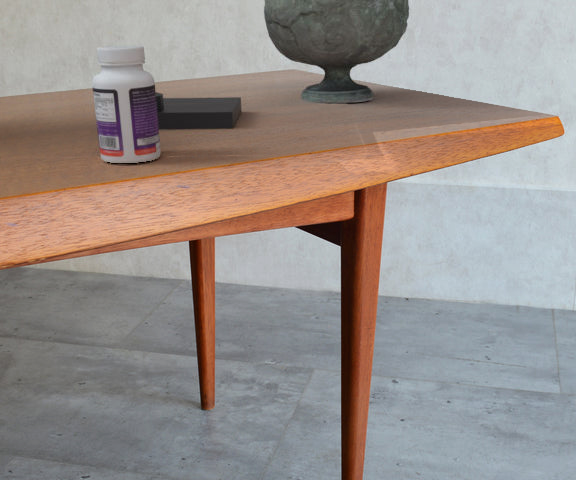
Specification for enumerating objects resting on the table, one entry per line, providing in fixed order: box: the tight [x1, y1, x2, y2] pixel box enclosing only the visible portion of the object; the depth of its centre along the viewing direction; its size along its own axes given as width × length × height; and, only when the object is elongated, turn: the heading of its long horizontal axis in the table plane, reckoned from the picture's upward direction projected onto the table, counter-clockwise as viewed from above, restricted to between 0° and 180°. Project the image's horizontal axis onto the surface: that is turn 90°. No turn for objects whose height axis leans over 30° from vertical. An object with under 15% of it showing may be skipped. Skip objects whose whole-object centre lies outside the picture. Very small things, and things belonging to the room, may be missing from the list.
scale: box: [155, 91, 242, 130], centre depth 85 cm, size 14×12×4 cm
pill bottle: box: [91, 45, 162, 164], centre depth 65 cm, size 5×5×10 cm
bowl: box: [263, 0, 410, 104], centre depth 100 cm, size 20×19×15 cm
